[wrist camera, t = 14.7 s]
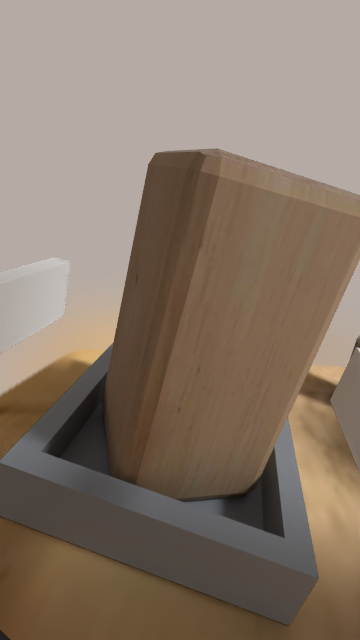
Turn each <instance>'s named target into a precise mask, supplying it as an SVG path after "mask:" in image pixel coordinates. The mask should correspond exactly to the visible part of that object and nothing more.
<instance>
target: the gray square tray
mask: <svg viewBox="0 0 360 640" xmlns="http://www.w3.org/2000/svg"><path fill="white" fill-rule="evenodd" d="M113 343H114V342H113ZM112 349H113V344H112V345H111V346H110V347H109V348H108V349H107V350H106V351H105V352H104V353H103V354H102V355H101V356H100V357H99V358H98V359H97V360H96V361H95V362H94V363H93V364H92V365H91V366H90V367H89V368H88V369H87V370H86V371H85V372H84V374H83V375H82V376H81V377H80V378H79V379H78V380H77V381H76V382H75V383H74V384H73V385H72V386H71V387H70V388H69V389H68V390H67V391H66V392H65V393H64V394H63V395H62V396H61V397H60V398H59V399H58V400H57V402H56V403H55V404H54V405H53V406H52V407H51V408H50V409H49V410H48V411H47V412H46V413H45V414H44V415H43V416H42V417H41V418H40V419H39V420H38V421H37V422H36V423H35V424H34V425H33V426H32V427H31V429H30V430H29V431H28V432H27V433H26V434H25V435H24V436H23V437H22V438H21V439H20V440H19V441H18V442H17V443H16V444H15V445H14V446H13V447H12V448H11V449H10V450H9V451H8V452H7V453H6V454H5V456H4V457H3V458H2V459H1V460H0V516H1V517H4V518H6V519H9V520H12V521H14V522H17V523H19V524H22V525H25V526H27V527H30V528H33V529H35V530H38V531H41V532H43V533H46V534H48V535H51V536H54V537H56V538H59V539H62V540H64V541H67V542H70V543H72V544H75V545H77V546H80V547H83V548H85V549H88V550H91V551H93V552H96V553H98V554H101V555H104V556H106V557H109V558H112V559H114V560H117V561H120V562H122V563H125V564H127V565H130V566H133V567H135V568H138V569H141V570H143V571H146V572H149V573H151V574H154V575H156V576H159V577H162V578H164V579H167V580H170V581H172V582H175V583H178V584H180V585H183V586H185V587H188V588H191V589H193V590H196V591H199V592H201V593H204V594H207V595H209V596H212V597H214V598H217V599H220V600H222V601H225V602H228V603H230V604H233V605H236V606H238V607H241V608H243V609H246V610H249V611H251V612H254V613H257V614H259V615H262V616H265V617H267V618H270V619H272V620H275V621H278V622H280V623H283V624H286V625H288V626H289V625H290V623H291V622H292V620H293V619H294V617H295V616H296V614H297V612H298V611H299V609H300V608H301V606H302V604H303V603H304V601H305V600H306V598H307V597H308V595H309V593H310V592H311V590H312V589H313V587H314V585H315V584H316V582H317V581H318V579H319V576H318V571H317V566H316V561H315V555H314V550H313V545H312V540H311V535H310V529H309V524H308V519H307V514H306V508H305V503H304V498H303V493H302V488H301V482H300V477H299V472H298V467H297V461H296V456H295V451H294V446H293V440H292V435H291V430H290V425H289V420H288V417H287V420H286V422H285V424H284V426H283V428H282V431H281V433H280V435H279V437H278V439H277V442H276V444H275V446H274V448H273V450H272V453H271V455H270V457H269V459H268V461H267V463H266V466H265V468H264V470H263V472H262V474H261V477H260V479H259V481H258V483H257V485H256V488H255V489H253V490H252V491H251V492H250V493H248V494H246V495H244V496H237V497H226V498H215V499H205V500H194V501H183V502H181V501H178V500H176V499H173V498H170V497H167V496H164V495H162V494H159V493H156V492H153V491H150V490H147V489H145V488H142V487H139V486H136V485H133V484H131V483H128V482H125V481H122V480H119V479H117V478H114V477H111V476H110V468H109V460H108V451H107V443H106V435H105V426H104V418H103V409H102V400H103V395H104V390H105V384H106V379H107V374H108V369H109V364H110V359H111V354H112Z"/></svg>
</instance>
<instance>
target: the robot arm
mask: <svg viewBox="0 0 360 640" xmlns="http://www.w3.org/2000/svg"><path fill="white" fill-rule="evenodd" d="M69 269H70V261H66V260H64V259H60V258H57V257H54V258H50V259H46V260H42V261H39V262H35V263H31V264H27V265H24V266H20V267H16V268H13V269H9V270H5V271H2V272H0V353H2V352H4V351H5V350H7V349H9V348H10V347H12V346H14V345H16V344H17V343H19V342H21V341H22V340H24V339H26V338H27V337H29V336H30V335H32V334H34V333H36V332H37V331H39V330H41V329H42V328H44V327H46V326H47V325H49V324H51V323H52V322H54V321H56V320H57V319H59V318H61V317H62V316H64V310H65V302H66V294H67V286H68V278H69ZM330 402H331V404H332V407H333V409H334V412H335V414H336V416H337V419H338V421H339V424H340V426H341V429H342V431H343V434H344V436H345V438H346V441H347V443H348V446H349V448H350V451H351V453H352V456H353V458H354V460H355V463H356V465H357V468H358V470H359V473H360V348H357V347H356V349H355V351H354V353H353V355H352V357H351V359H350V361H349V363H348V365H347V367H346V369H345V371H344V373H343V375H342V377H341V379H340V381H339V383H338V385H337V387H336V389H335V391H334V393H333V395H332V397H331V399H330ZM0 640H10V639H9V638H8V637H7V636H6V635H5V634H4V633H3V632H2V631H1V630H0Z"/></svg>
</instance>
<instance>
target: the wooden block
mask: <svg viewBox="0 0 360 640" xmlns="http://www.w3.org/2000/svg"><path fill="white" fill-rule="evenodd" d="M359 260H360V195H358V194H355V193H352V192H349V191H346V190H342V189H339V188H336V187H333V186H330V185H327V184H324V183H321V182H318V181H315V180H312V179H309V178H306V177H303V176H300V175H296V174H293V173H290V172H287V171H284V170H281V169H278V168H275V167H272V166H269V165H266V164H263V163H260V162H257V161H254V160H250V159H248V158H244V157H241V156H238V155H235V154H232V153H229V152H226V151H223V150H220V149H199V150H183V151H182V150H180V151H165V152H159V153H155V155H154V156H153V158H152V160H151V161H150V163H149V164H148V169H147V174H146V179H145V185H144V190H143V195H142V200H141V206H140V210H139V215H138V220H137V226H136V231H135V236H134V241H133V246H132V252H131V256H130V261H129V267H128V272H127V277H126V282H125V287H124V292H123V298H122V302H121V308H120V313H119V318H118V323H117V328H116V334H115V338H114V343H113V349H112V354H111V359H110V364H109V369H108V374H107V379H106V384H105V390H104V395H103V400H102V409H103V418H104V426H105V435H106V443H107V451H108V460H109V468H110V476H111V477H114V478H117V479H119V480H122V481H125V482H128V483H131V484H133V485H136V486H139V487H142V488H145V489H147V490H150V491H153V492H156V493H159V494H162V495H164V496H167V497H170V498H173V499H176V500H178V501H181V502H183V501H194V500H205V499H215V498H226V497H237V496H244V495H246V494H248V493H250V492H251V491H252V490H253V489H255V488H256V485H257V483H258V481H259V479H260V477H261V474H262V472H263V470H264V468H265V466H266V463H267V461H268V459H269V457H270V455H271V453H272V450H273V448H274V446H275V444H276V442H277V439H278V437H279V435H280V433H281V431H282V428H283V426H284V424H285V422H286V420H287V417H288V415H289V413H290V411H291V409H292V406H293V404H294V402H295V400H296V398H297V396H298V393H299V391H300V389H301V387H302V385H303V382H304V380H305V378H306V376H307V374H308V371H309V369H310V367H311V365H312V362H313V360H314V358H315V356H316V354H317V352H318V349H319V347H320V345H321V343H322V341H323V339H324V336H325V334H326V332H327V330H328V328H329V325H330V323H331V321H332V319H333V317H334V314H335V312H336V310H337V308H338V305H339V303H340V301H341V299H342V296H343V295H344V292H345V290H346V288H347V286H348V284H349V282H350V279H351V277H352V275H353V273H354V271H355V268H356V266H357V264H358V262H359Z"/></svg>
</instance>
